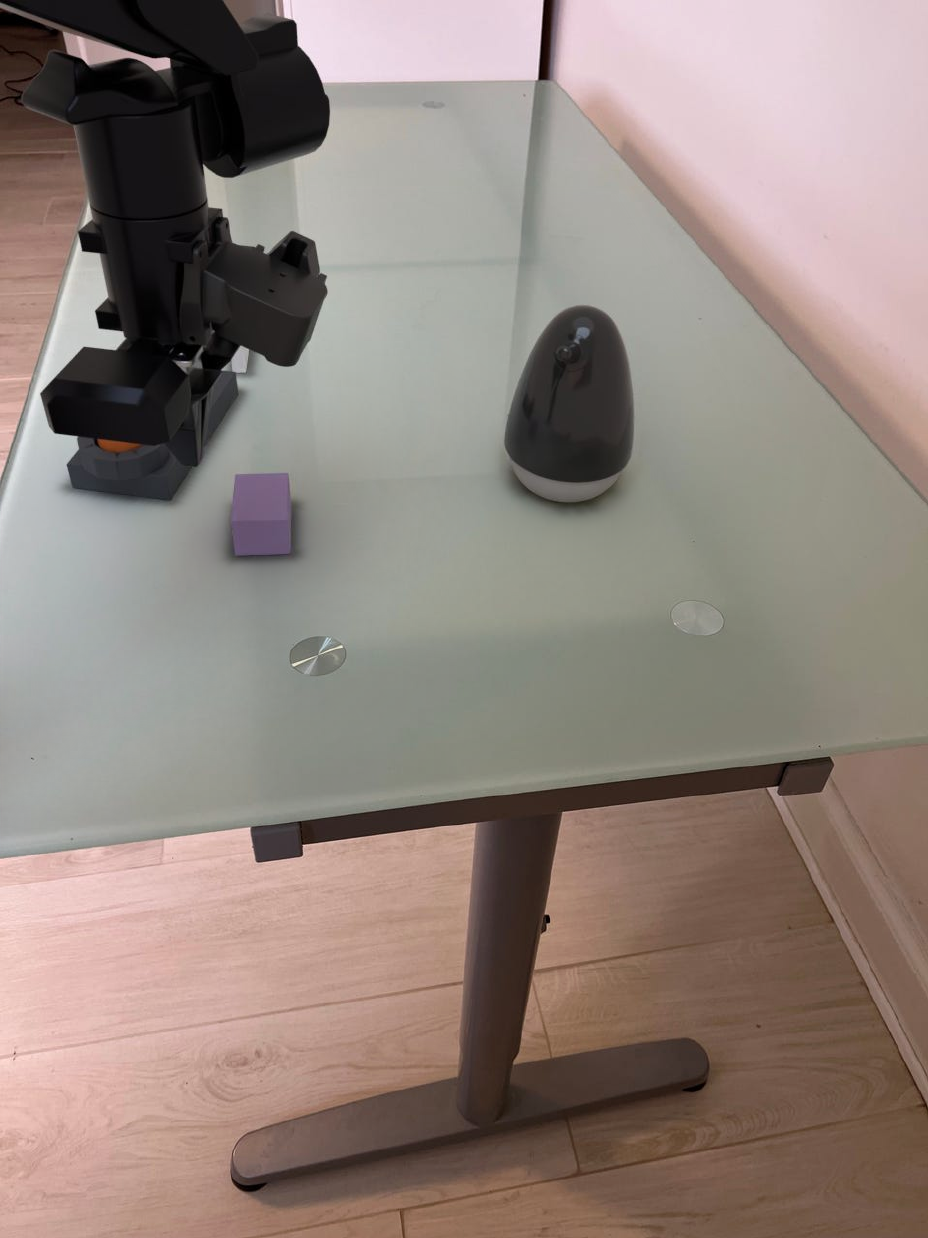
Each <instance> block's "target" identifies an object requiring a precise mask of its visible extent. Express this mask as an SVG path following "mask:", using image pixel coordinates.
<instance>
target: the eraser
mask: <svg viewBox="0 0 928 1238" xmlns="http://www.w3.org/2000/svg"><path fill="white" fill-rule="evenodd" d="M249 353H250V350H249V349H247V348H245V347H243V346H240V348H239V349H238V351H237V352H236V353H235V355H234V356H233V358H232V359H231V361H230V362H231V369H232V370H231V371H232V372H236V374H237V373H238V374H239V373H241V374H244V373H245V374H246V373H247V369H248V361H249Z"/></svg>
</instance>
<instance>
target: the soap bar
mask: <svg viewBox="0 0 928 1238" xmlns="http://www.w3.org/2000/svg"><path fill="white" fill-rule="evenodd" d="M290 485H291V484H290V474H289V473H288V472H273V473H272V472H271V473H270V472H269V473H268V472H267V473H235V474H234V481H233V492H232V501H231V502H232V503H231V513H230V527H231V535H232V542H233V549H234V555H235V556H236V557H241V556H242V557H243V556H245V557H246V556H271V555H274V556H275V555H276V556H277V555H290V554H291V544H292V543H291V542H292V536H291V535H292V498H291V487H290Z"/></svg>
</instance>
